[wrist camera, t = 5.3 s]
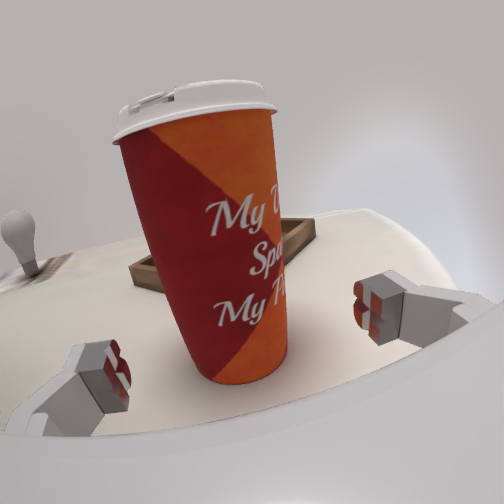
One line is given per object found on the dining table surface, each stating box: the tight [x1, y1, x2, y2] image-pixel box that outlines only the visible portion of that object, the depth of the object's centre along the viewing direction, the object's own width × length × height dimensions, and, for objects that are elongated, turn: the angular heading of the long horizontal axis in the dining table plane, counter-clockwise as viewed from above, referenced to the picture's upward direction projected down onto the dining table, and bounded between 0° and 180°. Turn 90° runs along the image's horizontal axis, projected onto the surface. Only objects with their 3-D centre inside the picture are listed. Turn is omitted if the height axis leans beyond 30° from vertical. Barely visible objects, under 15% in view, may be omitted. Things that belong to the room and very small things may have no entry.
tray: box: [128, 218, 316, 293], centre depth 31 cm, size 16×13×2 cm
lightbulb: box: [1, 209, 38, 276], centre depth 36 cm, size 6×6×11 cm
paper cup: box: [112, 80, 287, 384], centre depth 15 cm, size 8×8×14 cm
